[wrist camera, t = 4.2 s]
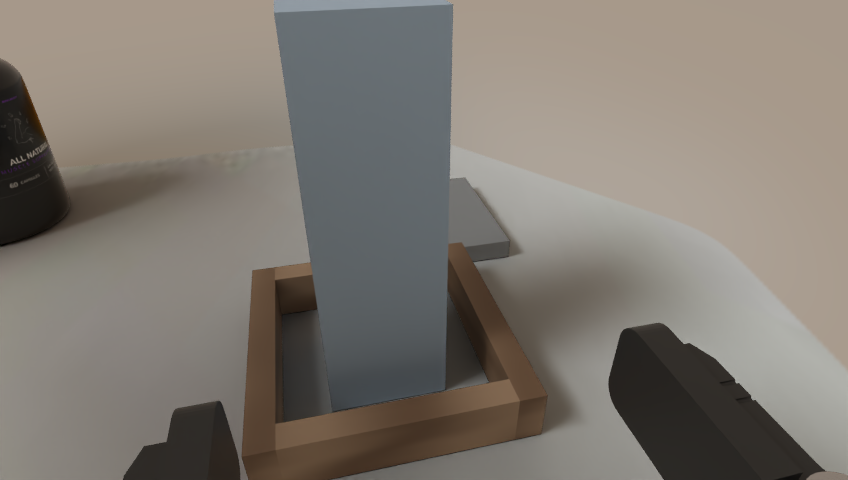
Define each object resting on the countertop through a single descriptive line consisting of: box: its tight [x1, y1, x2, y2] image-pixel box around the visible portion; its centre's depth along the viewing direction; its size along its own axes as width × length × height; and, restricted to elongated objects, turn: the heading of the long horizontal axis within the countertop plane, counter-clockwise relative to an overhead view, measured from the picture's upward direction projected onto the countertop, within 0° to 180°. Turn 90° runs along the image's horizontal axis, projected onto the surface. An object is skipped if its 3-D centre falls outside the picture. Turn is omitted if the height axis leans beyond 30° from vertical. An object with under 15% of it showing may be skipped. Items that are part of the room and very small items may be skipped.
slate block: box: [274, 0, 453, 411], centre depth 19 cm, size 4×4×14 cm
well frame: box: [242, 242, 548, 480], centre depth 22 cm, size 10×10×2 cm
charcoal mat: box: [448, 178, 510, 261], centre depth 31 cm, size 8×8×1 cm
